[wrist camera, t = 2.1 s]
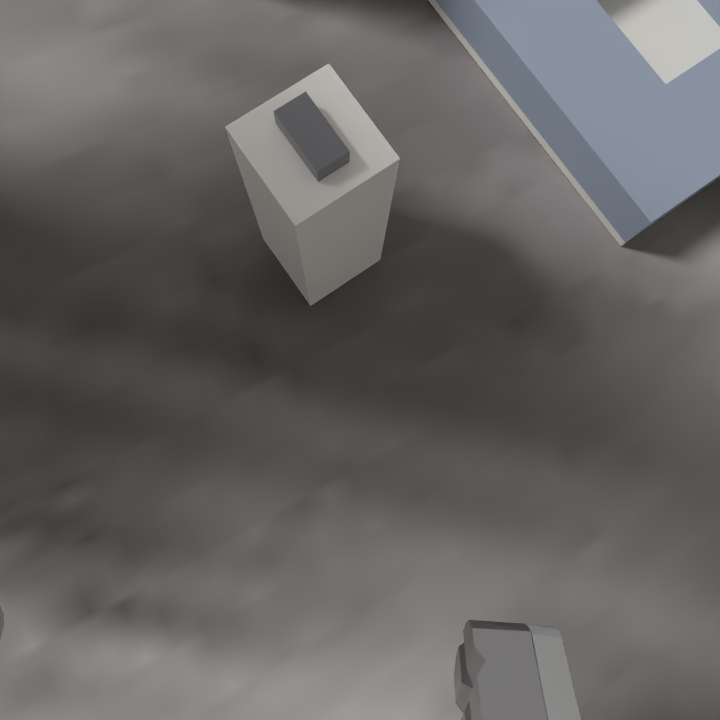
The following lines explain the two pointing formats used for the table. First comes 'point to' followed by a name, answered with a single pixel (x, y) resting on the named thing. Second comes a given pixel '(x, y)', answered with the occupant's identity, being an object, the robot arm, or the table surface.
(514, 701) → the robot arm
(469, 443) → the table surface
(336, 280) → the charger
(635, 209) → the blue-gray square socket base
